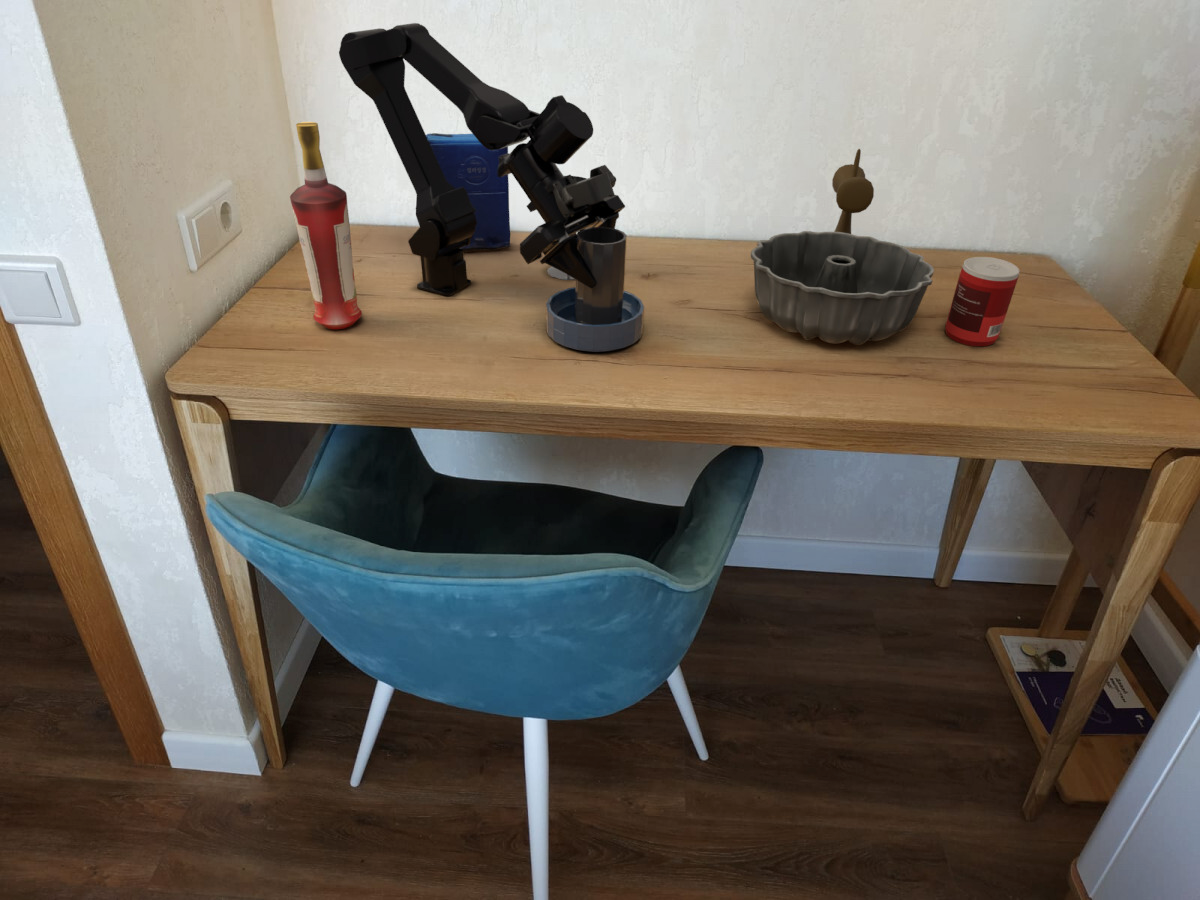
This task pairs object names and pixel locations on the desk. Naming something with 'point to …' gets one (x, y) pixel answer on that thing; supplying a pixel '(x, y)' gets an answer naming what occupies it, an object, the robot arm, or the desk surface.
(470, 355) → the desk surface
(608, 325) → the bowl
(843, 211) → the kendama
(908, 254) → the bundt pan
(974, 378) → the desk surface
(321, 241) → the liquor
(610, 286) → the cup
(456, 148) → the blue box
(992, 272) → the canned food
